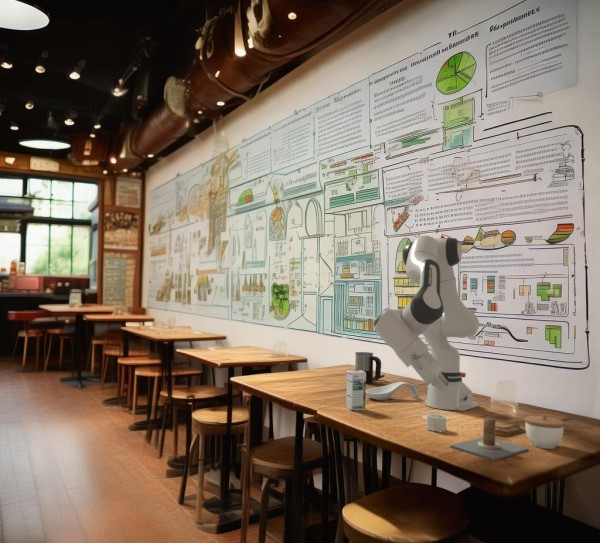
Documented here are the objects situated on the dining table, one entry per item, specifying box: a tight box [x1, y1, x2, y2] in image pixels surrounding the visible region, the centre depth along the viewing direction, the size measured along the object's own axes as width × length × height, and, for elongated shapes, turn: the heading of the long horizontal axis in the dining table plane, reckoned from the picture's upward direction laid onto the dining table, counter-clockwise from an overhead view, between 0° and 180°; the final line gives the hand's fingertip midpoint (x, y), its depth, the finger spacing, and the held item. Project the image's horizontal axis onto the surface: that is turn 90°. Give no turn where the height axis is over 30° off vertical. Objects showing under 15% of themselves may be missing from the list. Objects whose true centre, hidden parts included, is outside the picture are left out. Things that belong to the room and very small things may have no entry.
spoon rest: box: [366, 381, 420, 401], centre depth 223 cm, size 24×12×7 cm, turn 107°
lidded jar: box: [524, 413, 565, 450], centre depth 158 cm, size 11×11×9 cm
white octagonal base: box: [425, 413, 447, 432], centre depth 172 cm, size 6×6×4 cm
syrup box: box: [345, 370, 367, 411], centre depth 199 cm, size 6×6×14 cm
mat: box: [449, 437, 529, 461], centre depth 152 cm, size 18×14×1 cm
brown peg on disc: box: [478, 417, 500, 450], centre depth 152 cm, size 6×6×8 cm
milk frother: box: [354, 351, 385, 384], centre depth 265 cm, size 14×16×15 cm
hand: (446, 388), depth 157 cm, fingers open, 8 cm apart
